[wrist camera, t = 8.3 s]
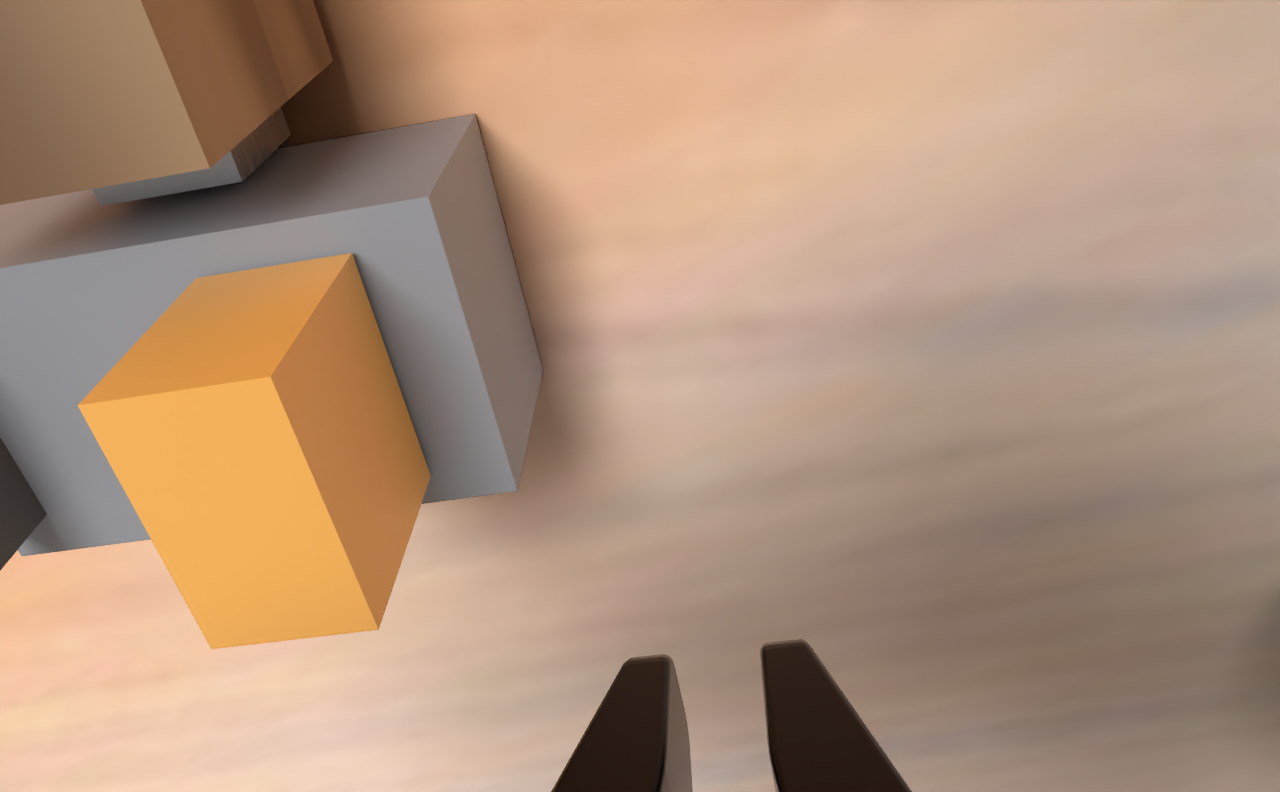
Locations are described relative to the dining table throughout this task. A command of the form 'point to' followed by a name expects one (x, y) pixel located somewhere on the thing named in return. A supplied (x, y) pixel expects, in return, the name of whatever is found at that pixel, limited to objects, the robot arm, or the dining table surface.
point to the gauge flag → (267, 451)
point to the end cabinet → (254, 238)
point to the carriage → (141, 85)
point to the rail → (222, 173)
